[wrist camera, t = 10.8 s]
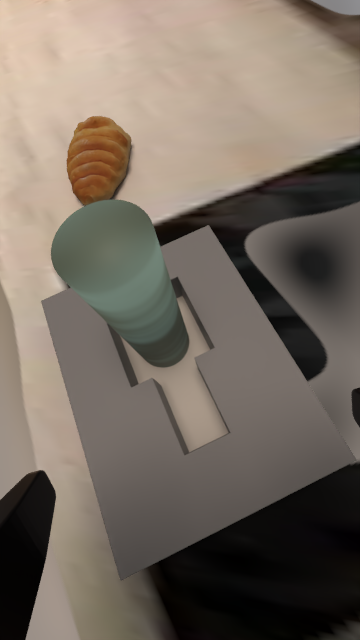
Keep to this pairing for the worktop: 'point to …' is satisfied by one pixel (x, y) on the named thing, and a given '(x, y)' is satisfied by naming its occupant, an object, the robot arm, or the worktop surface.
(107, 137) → the pastry
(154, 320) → the teal post
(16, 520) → the robot arm
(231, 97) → the worktop surface
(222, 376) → the keyhole plate
